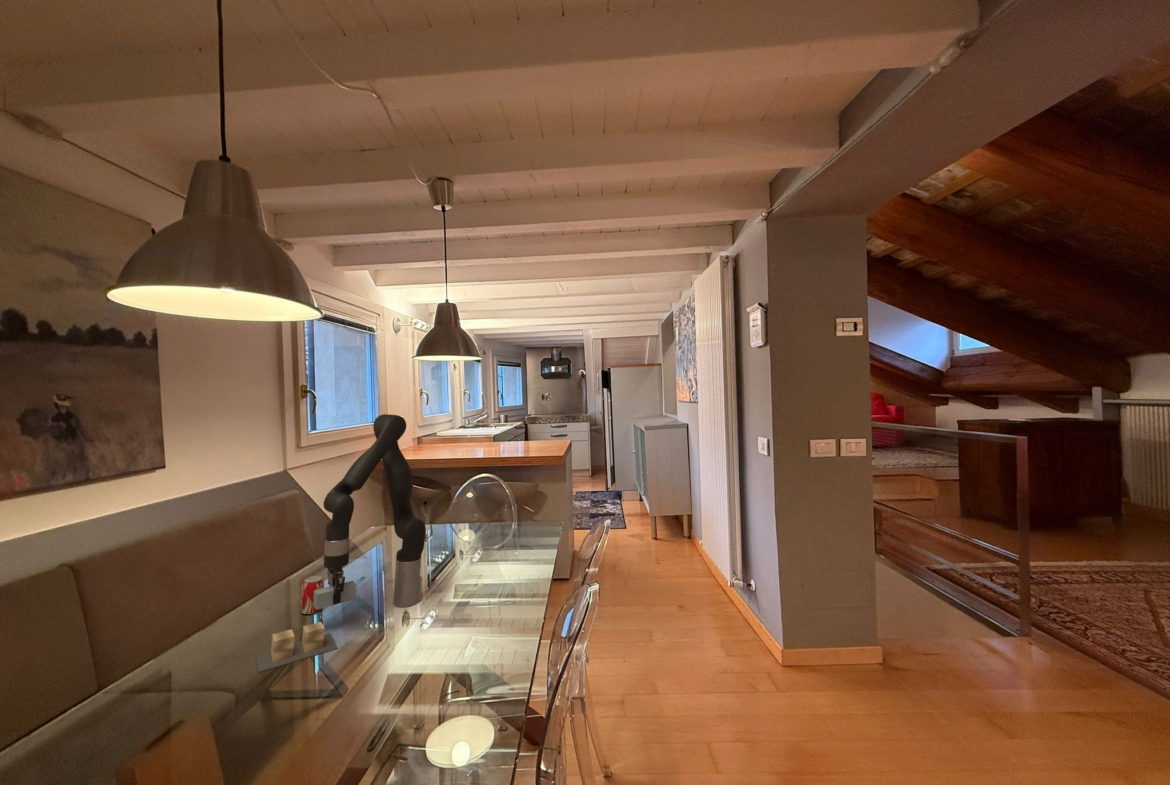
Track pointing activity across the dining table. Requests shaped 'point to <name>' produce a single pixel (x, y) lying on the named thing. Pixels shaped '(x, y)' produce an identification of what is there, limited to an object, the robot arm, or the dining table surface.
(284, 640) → the pillar
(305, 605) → the soda can
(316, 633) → the pillar
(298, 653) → the mat
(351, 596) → the lintel
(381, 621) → the dining table surface
